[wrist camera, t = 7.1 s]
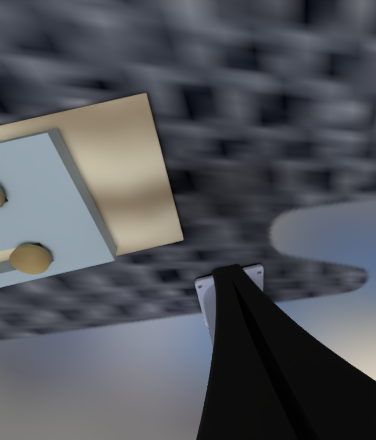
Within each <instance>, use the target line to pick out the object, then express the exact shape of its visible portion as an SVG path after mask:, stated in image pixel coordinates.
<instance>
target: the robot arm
mask: <svg viewBox="0 0 376 440" xmlns="http://www.w3.org/2000/svg"><path fill="white" fill-rule="evenodd" d="M212 274H213V275H212V276H207V277H203V278H199V279H196V280H195V286H196V290H197V294H198V298H199V302H200V306H201V310H202V314H203V318H204V322H205V325H206V326H208V327H209V331H210V336H211V340H212V345H213V354H212V361H211V369H210V375H209V381H208V386H207V392H206V397H205V402H204V407H203V413H202V417H201V422H200V426H199V430H198V435H197V439H196V440H376V381H375V380H373V379H372V378H370V377H369V376H367V375H366V374H364V373H363V372H361V371H360V370H359V369H357V368H356V367H354V366H353V365H351V364H350V363H348V362H347V361H345V360H344V359H343V358H341V357H340V356H338V355H337V354H336V353H334V352H333V351H332V350H330V349H329V348H327V347H326V346H325V345H323V344H322V343H321V342H319V341H318V340H316V339H315V338H314V337H313V336H312V335H310V334H309V333H308V332H307V331H305V330H304V329H303V328H302V327H301V326H299V325H298V324H297V323H296V322H295V321H293V320H292V319H291V318H290V317H289V316H288V315H287V314H285V313H284V312H283V311H282V310H281V309H280V308H279V307H278V306H277V305H276V304H275V303H274V302H273V301H272V300H271V299H270V298H269V297H268V296H267V295H266V294H265V293H264V292H263V266H262V265H260V264H259V265H254V266H250V267H246V268H242V267H241V266H240V265H239V264H234V265H230V266H226V267H221V268H217V269H214V270H213V271H212ZM199 285H200V286H199Z"/></svg>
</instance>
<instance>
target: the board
mask: <svg viewBox="0 0 376 440" xmlns="http://www.w3.org/2000/svg"><path fill="white" fill-rule="evenodd" d="M56 128H57V129H58V131H59V133H60V135H61V137H62V139H63V141H64V143H65V145H66V147H67V149H68V151H69V153H70V155H71V157H72V159H73V161H74V163H75V165H76V167H77V169H78V171H79V173H80V175H81V177H82V179H83V181H84V183H85V185H86V187H87V189H88V191H89V193H90V195H91V197H92V199H93V201H94V203H95V205H96V207H97V209H98V211H99V213H100V215H101V217H102V219H103V221H104V223H105V225H106V227H107V229H108V231H109V233H110V235H111V237H112V239H113V242H114V244H115V246H116V248H117V253H116V256H117V255H122V254H126V253H130V252H135V251H139V250H143V249H147V248H152V247H156V246H160V245H165V244H169V243H173V242H177V241H182V240H183V234H182V230H181V226H180V222H179V218H178V214H177V211H176V207H175V203H174V199H173V195H172V191H171V187H170V183H169V179H168V175H167V171H166V167H165V163H164V159H163V155H162V151H161V147H160V143H159V140H158V136H157V132H156V128H155V124H154V120H153V116H152V112H151V108H150V104H149V100H148V96H147V92H146V93H142V94H138V95H133V96H129V97H124V98H120V99H115V100H111V101H106V102H102V103H98V104H93V105H89V106H84V107H80V108H75V109H71V110H66V111H62V112H58V113H53V114H49V115H44V116H40V117H35V118H31V119H26V120H22V121H17V122H13V123H9V124H4V125H0V141H3V140H7V139H12V138H16V137H21V136H25V135H29V134H34V133H38V132H43V131H47V130H52V129H56ZM4 202H5V196H4V193H3V191H2V190H1V188H0V208H1V207H2V206H3V205H4ZM7 261H10V263H11V265H12V266H13V267H14V268H16V269H17V270H19V271H21V272H23V273H27V274H40V273H43V272H45V271H46V270H47V269H48V268H49V266H50V264H51V262H52V258H51V255H50V254H49V253H48V251H46V250H45V249H44V247H43V246H42V245H41V243H40V242H39V243H35V244H24V245H20V246H18V247H17V248H13V249H9V250H4V251H0V263H3V262H7Z"/></svg>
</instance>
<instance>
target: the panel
mask: <svg viewBox="0 0 376 440" xmlns="http://www.w3.org/2000/svg"><path fill="white" fill-rule="evenodd" d="M0 188H1V190H2V191H3V193H4V196H5V202H4V205H3V206H2V207H1V208H0V251H4V250H9V249H13V248H17V247H18V246H20V245H24V244H35V243H39V242H40V243H41V245H42V246H43V247H44V249H45V250H46V251H48V253H49V254H50V255H51V258H52V262H51V264H50V266H49V268H48V269H47V270H46V271H45V272H43V273H40V274H27V273H23V272H21V271H19V270H17V269H16V268H14V267H13V266H12V265H11V263H10V261H7V262H3V263H0V287H4V286H8V285H12V284H17V283H21V282H25V281H30V280H34V279H38V278H42V277H47V276H51V275H55V274H59V273H64V272H68V271H72V270H77V269H81V268H85V267H89V266H94V265H98V264H102V263H107V262H111V261H115V257H116V253H117V248H116V246H115V244H114V242H113V239H112V237H111V235H110V233H109V231H108V229H107V227H106V225H105V223H104V221H103V219H102V217H101V215H100V213H99V211H98V209H97V207H96V205H95V203H94V201H93V199H92V197H91V195H90V193H89V191H88V189H87V187H86V185H85V183H84V181H83V179H82V177H81V175H80V173H79V171H78V169H77V167H76V165H75V163H74V161H73V159H72V157H71V155H70V153H69V151H68V149H67V147H66V145H65V143H64V141H63V139H62V137H61V135H60V133H59V131H58V129H57V128H56V129H52V130H47V131H43V132H38V133H34V134H29V135H25V136H21V137H16V138H12V139H7V140H3V141H0Z"/></svg>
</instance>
